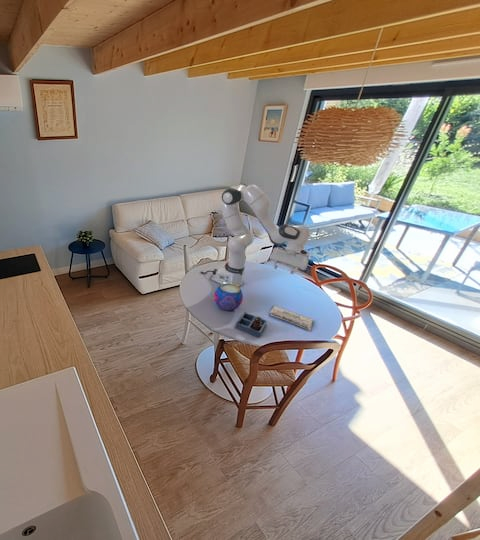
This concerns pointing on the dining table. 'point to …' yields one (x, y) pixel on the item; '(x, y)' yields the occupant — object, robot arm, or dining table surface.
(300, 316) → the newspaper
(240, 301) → the ceramic pot
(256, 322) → the dark brown cylinder
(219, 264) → the dining table surface
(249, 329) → the grid
